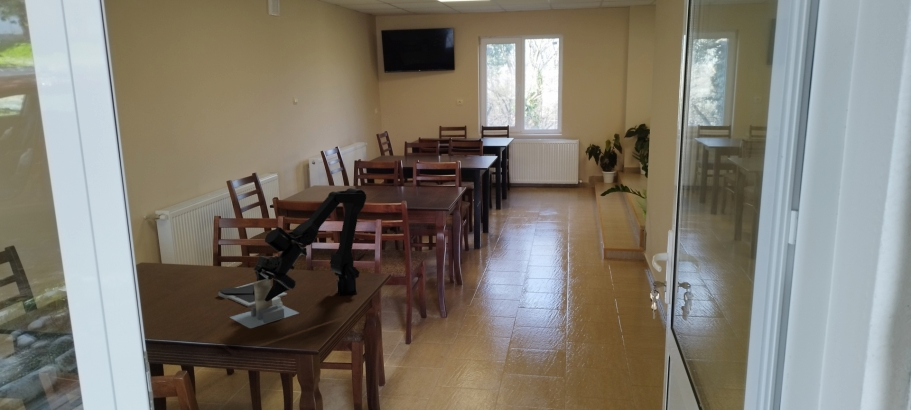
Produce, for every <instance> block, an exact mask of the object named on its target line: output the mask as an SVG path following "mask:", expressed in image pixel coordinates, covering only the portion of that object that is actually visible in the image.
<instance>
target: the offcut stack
mask: <svg viewBox="0 0 911 410" xmlns="http://www.w3.org/2000/svg"><path fill="white" fill-rule="evenodd" d="M274 305H277V306H278V307H282V306H284V304H283V301H282V297H274V298H273V299H272V306H274Z"/></svg>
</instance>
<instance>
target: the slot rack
mask: <svg viewBox="0 0 911 410" xmlns="http://www.w3.org/2000/svg"><path fill="white" fill-rule="evenodd" d="M298 314H299V312H298V311H297V310H295V309H292V308H290V307H287V306H285V305H283V306H282V307H278V306H277V305H274V306H270V307H267V308H263V309H260V310H257V316H256V305H253V306H250V311H247V312H242V313H239V314H235V315H233V316H229V318H230V319H232V320H233V321H236V322H237V323H239V324H241V325H242V326H244V327H246V328H248V329H254V328H256V327H259V326H263V325H266V324H268V323H269V324H270V323H272V322H275V321H279V320H281V319H286V318H288V317H292V316H295V315H298Z"/></svg>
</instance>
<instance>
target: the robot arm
mask: <svg viewBox="0 0 911 410" xmlns="http://www.w3.org/2000/svg"><path fill="white" fill-rule="evenodd" d="M366 201H367V194H366V193H365V191H364V190H362V189H357V188H352V187H351V188H347V189H346V190H340V191H339V190H337V191H331V192H329V193H328V196H326V198H325V199H324V201H323V202H322V203H321V204H320V205H319V206H318V208H317V209H316V210H315V211H314V212H313V214H311V216H309V218H308V219H307V220H305V221H303V222H301V223H300V224H298V225H297V226H296V227H295V228H294V229H293V230H292V231H289V232H286V231H285V230H284V229H283V227H281V226H276V228H275V229H272V230H271V231H270V232H268V233H267V234H266V235H265V238H264V242H265V243H266V244H267V246H268V245H269V246H270V247H271V248H273V250H275V251H276V252H278V253H279V255H278V256H277V255H275V256H270V257H266V256H263V255H258V258H257V261H256V265H255V267H254V268H253V271H254V274H255V277H256V281H255V282H257V281H260V280H264V279H269V280H271V281H272V285H271V287H272V288H271V289H270V291H269V293H268V294H267V296H266V298H265V301H267V302H268V301H269V300H271V299H273V298H274V297H276V296H278V295H279V294H281V293H283V292H284V293H286V292H287V291H289V290H292V291H293V290H294V289H295V287H297V282H296V280H294V278H292V277H290V276H289V274H288V273H289V272H290V270H292V271H293V270H294V269H295V266H294V265H295V263H296V262H297V260H298V259H299V257H300V256H305V257H307V255H308V252H307V247H304V246H310V245H312V244H313V243H314V242H315V240H316V238H317V236H318V235H319V230H320V228H321V227H322V225H323V224H324V223H325V222H326V221H327V219H328V218H329V217H330V216H331V214H333V212H334V211H335V210H336V209H337V207H338V206H339V204H343V209H344V217H343V221H342V228H341V233H340V239H339V244H338V248H337V250H336V252H335V253H333V252H331V255H330V261H329V265H330V266H329V267H330V269H331V271H332V272H333V273H334V275H335V276H337V280H336V290H337V293H338V295H339V296H346V295H356V294H358V292H357V291H358V290H357V279H358V278H359V276H360V271H359V270H358V269H357V268H356V267H354V262H355V261H354V260H355V259H354V255H353V253H352V252H353V251H352V250H353V245H354V241H355V240H354V239H355V235H356V230H357V223H358V220H359V219H358V218H359V214H360V213H361V211H362V210H363V208H364V207H365V204H366ZM299 244H300V245H299ZM301 245H302V246H301ZM252 294H253V295H254V296H255V292H254V290H253V293H252Z"/></svg>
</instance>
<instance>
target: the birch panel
mask: <svg viewBox="0 0 911 410" xmlns="http://www.w3.org/2000/svg"><path fill="white" fill-rule="evenodd" d="M256 281H257V280H256ZM256 281H254V282H253V283H254V292H255V305H254V306H256V316H257V310H260V309H263V308H267V307H270V306H272V299H271V300H269V301H268V302H267V301H265V298H266V296H267V294H268V293H269V291H270V289H271V287H272V279H271V280H269V279H264V280H260V281H257V282H256Z"/></svg>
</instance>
